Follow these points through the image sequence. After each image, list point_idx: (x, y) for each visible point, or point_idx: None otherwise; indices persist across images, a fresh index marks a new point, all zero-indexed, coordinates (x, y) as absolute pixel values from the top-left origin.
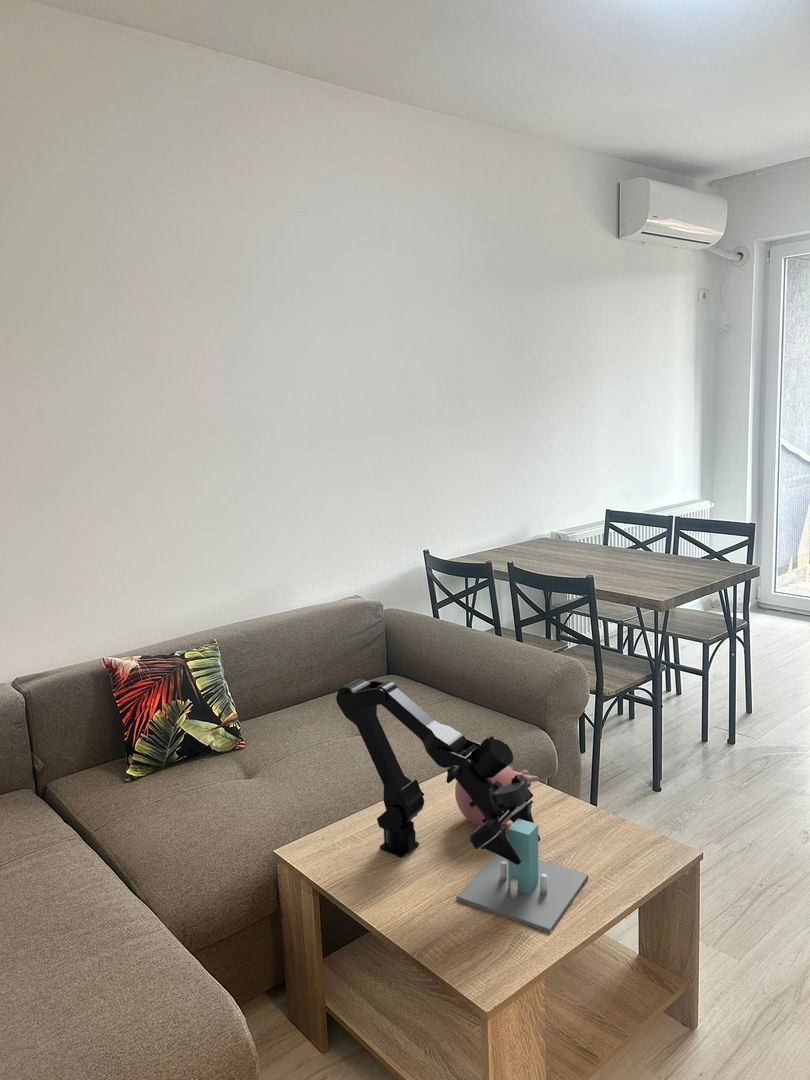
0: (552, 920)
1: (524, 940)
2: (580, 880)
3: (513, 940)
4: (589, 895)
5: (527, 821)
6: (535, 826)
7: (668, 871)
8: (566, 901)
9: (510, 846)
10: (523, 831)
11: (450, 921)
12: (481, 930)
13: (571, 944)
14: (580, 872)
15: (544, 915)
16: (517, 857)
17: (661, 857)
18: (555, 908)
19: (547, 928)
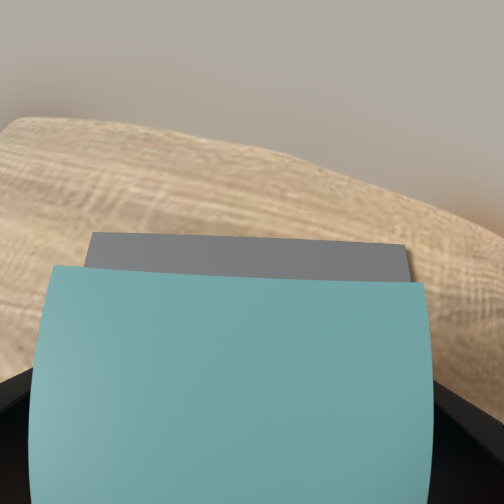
0: (370, 251)
1: (457, 296)
2: (128, 242)
3: (471, 319)
4: (179, 210)
5: (32, 451)
6: (123, 282)
7: (53, 120)
8: (259, 244)
9: (494, 438)
10: (383, 413)
11: None
12: (482, 409)
13: (398, 196)
14: (88, 254)
15: (365, 280)
16: (436, 385)
17: (14, 144)
18: (313, 263)
19: (405, 252)
